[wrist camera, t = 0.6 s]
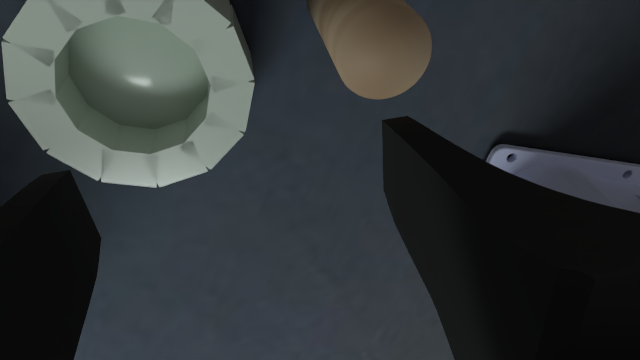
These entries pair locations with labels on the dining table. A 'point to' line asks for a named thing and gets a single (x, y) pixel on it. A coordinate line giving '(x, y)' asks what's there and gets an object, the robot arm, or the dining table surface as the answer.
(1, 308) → the robot arm
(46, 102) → the sage green bowl
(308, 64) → the dining table surface
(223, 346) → the dining table surface
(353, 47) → the dowel
